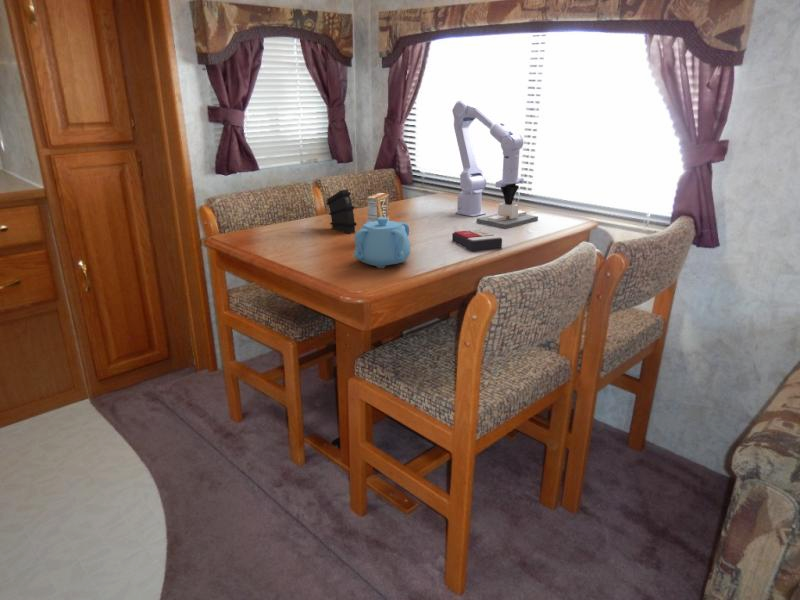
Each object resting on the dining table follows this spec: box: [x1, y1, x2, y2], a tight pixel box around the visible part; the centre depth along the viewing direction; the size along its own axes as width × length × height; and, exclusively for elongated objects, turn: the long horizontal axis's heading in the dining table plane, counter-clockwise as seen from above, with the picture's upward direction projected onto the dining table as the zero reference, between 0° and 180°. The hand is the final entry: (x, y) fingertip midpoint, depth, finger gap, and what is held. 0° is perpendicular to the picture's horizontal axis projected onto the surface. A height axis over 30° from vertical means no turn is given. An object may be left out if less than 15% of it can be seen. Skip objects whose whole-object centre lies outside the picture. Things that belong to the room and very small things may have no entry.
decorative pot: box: [353, 217, 412, 269], centre depth 168 cm, size 16×16×14 cm
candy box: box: [366, 192, 390, 222], centre depth 192 cm, size 9×4×15 cm, turn 156°
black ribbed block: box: [326, 188, 357, 235], centre depth 206 cm, size 4×13×15 cm, turn 40°
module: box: [497, 202, 520, 219], centre depth 218 cm, size 6×4×5 cm, turn 42°
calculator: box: [451, 228, 503, 253], centre depth 188 cm, size 11×4×15 cm
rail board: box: [476, 209, 539, 230], centre depth 219 cm, size 14×20×3 cm
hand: (508, 204), depth 217 cm, fingers closed, pressing on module
